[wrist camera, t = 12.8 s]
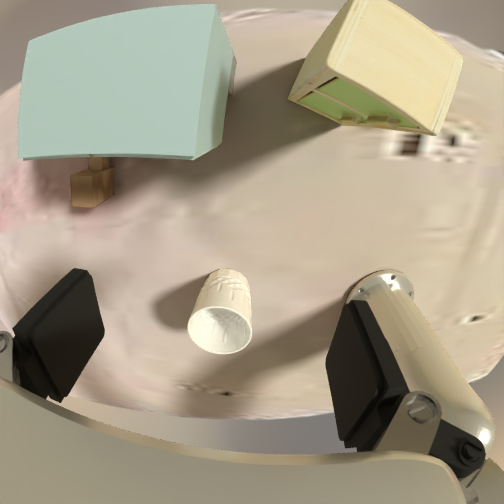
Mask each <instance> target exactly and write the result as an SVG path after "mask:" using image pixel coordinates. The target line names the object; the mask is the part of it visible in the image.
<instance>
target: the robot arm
mask: <svg viewBox="0 0 504 504" xmlns="http://www.w3.org/2000/svg"><path fill="white" fill-rule="evenodd" d="M413 299H414V289H413V285H412V283H411V282H410V280H409V279H408V278H407V277H406V276H405V275H404V274H403V273H401V272H398V271H394V270H383V271H379V272H376V273H373V274H371V275H369V276H367V277H366V278H364V279H363V280H361V281H360V282H359V283H358V284H357V285H356V286H355V287H354V288H353V289H352V291H351V292H350V294H349V296H348V298H347V300H346V303H345V305H344V307H343V310H342V313H341V316H340V319H339V322H338V325H337V328H336V331H335V334H334V337H333V340H332V343H331V346H330V348H329V351H328V354H327V357H326V370H327V375H328V380H329V386H330V391H331V396H332V401H333V407H334V412H335V418H336V424H337V429H338V435H339V439H340V440H341V441H344V445H345V448H353V447H356V448H357V452H353V453H337V454H315V455H278V454H256V453H242V452H232V451H223V450H215V449H208V448H202V447H196V446H190V445H184V444H179V443H174V442H169V441H164V440H160V439H156V438H152V437H148V436H144V435H140V434H136V433H133V432H130V431H126V430H123V429H120V428H117V427H113V426H110V425H107V424H104V423H102V422H98V421H96V420H93V419H90V418H88V417H85V416H82V415H80V414H77V413H75V412H73V411H70V410H68V409H65V408H63V407H61V406H59V405H56V404H54V403H52V402H50V401H48V400H46V398H47V396H48V395H49V397H50V398H51V399H53V400H55V401H57V402H59V403H61V402H62V400H63V398H64V397H66V396H68V394H69V393H70V391H71V389H72V388H73V386H74V384H75V382H76V381H77V379H78V377H79V376H80V374H81V372H82V371H83V369H84V367H85V366H86V364H87V362H88V361H89V359H90V358H91V356H92V354H93V353H94V351H95V350H96V348H97V347H98V345H99V343H100V342H101V340H102V339H103V337H104V333H105V329H104V325H103V322H102V318H101V314H100V310H99V306H98V302H97V297H96V293H95V288H94V284H93V279H92V276H91V275H90V274H89V272H88V271H87V270H82V269H76V268H74V269H72V270H71V271H70V272H69V273H68V274H67V275H66V276H65V277H63V278H62V279H61V280H60V281H59V282H58V283H57V284H56V285H55V286H54V287H53V288H52V289H51V290H50V291H49V292H48V293H47V294H45V295H44V296H43V297H42V298H41V299H40V300H39V301H38V302H37V303H36V304H35V305H34V306H33V307H32V308H31V309H30V310H29V311H28V313H27V314H26V315H25V316H24V317H23V318H22V319H21V320H20V321H19V322H18V323H17V324H16V325H15V326H14V327H13V328H12V329H13V331H14V334H15V337H14V338H13V337H12V336H11V334H10V333H8V332H6V331H0V504H504V471H503V470H502V469H501V468H500V467H499V466H498V465H497V464H496V463H495V462H493V461H492V460H491V459H490V458H488V459H487V460H486V459H485V455H486V452H487V451H488V450H489V448H490V447H491V445H492V443H493V441H494V438H495V432H496V427H495V422H494V419H493V417H492V414H491V413H490V411H489V410H488V408H487V407H486V405H485V404H484V403H483V402H482V400H481V399H480V398H479V397H478V395H477V394H476V393H475V392H474V390H473V389H472V388H471V386H470V385H469V384H468V382H467V381H466V380H465V378H464V377H463V376H462V374H461V373H460V371H459V369H458V368H457V366H456V365H455V363H454V362H453V360H452V359H451V357H450V355H449V354H448V352H447V351H446V349H445V348H444V346H443V344H442V343H441V341H440V340H439V338H438V337H437V335H436V333H435V332H434V330H433V329H432V327H431V326H430V324H429V323H428V321H427V320H426V319H425V317H424V316H423V314H422V313H421V311H420V310H419V308H418V307H417V306H416V304H415V303H414V301H413Z"/></svg>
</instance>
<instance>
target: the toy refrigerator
mask: <svg viewBox="0 0 504 504" xmlns="http://www.w3.org/2000/svg"><path fill="white" fill-rule="evenodd" d="M462 64H463V58H462V56H461V55H460V54H459V53H458V51H457V50H456V49H455V48H453V47H452V46H451V45H450V44H449V43H448V42H447V41H445V40H444V39H443V38H442V37H441V36H439V35H438V34H437V33H435V32H434V31H433V30H431V29H430V28H429V27H427V26H426V25H425V24H423V23H422V22H421V21H419V20H418V19H416V18H415V17H413V16H412V15H410V14H409V13H407V12H406V11H404V10H403V9H401V8H400V7H398V6H396V5H395V4H393V3H392V2H390V1H388V0H348V1H347V2H346V3H345V4H344V6H343V7H342V8H341V10H340V11H339V12H338V14H337V15H336V16H335V18H334V19H333V20H332V22H331V23H330V24H329V26H328V27H327V28H326V30H325V31H324V32H323V34H322V35H321V37H320V38H319V39H318V41H317V42H316V44H315V45H314V46H313V48H312V49H311V51H310V52H309V54H308V55H307V57H306V59H305V61H304V63H303V65H302V67H301V69H300V72H299V74H298V76H297V78H296V80H295V82H294V85H293V87H292V89H291V91H290V94H289V96H288V98H287V99H288V100H290V101H292V102H294V103H297V104H299V105H301V106H303V107H306V108H308V109H310V110H312V111H314V112H316V113H319V114H321V115H323V116H325V117H327V118H329V119H331V120H333V121H335V122H337V123H339V124H341V125H343V126H359V127H372V128H381V129H390V130H397V131H405V132H413V133H419V134H425V135H431V136H436V135H437V134H438V133H439V131H440V129H441V127H442V124H443V122H444V119H445V116H446V114H447V111H448V108H449V105H450V102H451V99H452V97H453V94H454V91H455V88H456V85H457V81H458V78H459V75H460V71H461V68H462Z"/></svg>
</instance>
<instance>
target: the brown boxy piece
mask: <svg viewBox="0 0 504 504" xmlns="http://www.w3.org/2000/svg"><path fill="white" fill-rule="evenodd" d="M70 178H71V197H72V206H77V207H91V208H93V207H95V206H97V205H98V204H100V203H102V202H103V201H105V200H106V199H108V198H110V197H112V196H113V195H114V167H110V157H93V156H91V157H88V169H87V170H84V171H82V172H79V173H77V174H74V175H71V176H70Z"/></svg>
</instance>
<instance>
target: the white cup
mask: <svg viewBox="0 0 504 504" xmlns="http://www.w3.org/2000/svg"><path fill="white" fill-rule="evenodd" d="M187 330H188V334H189V336H190V338H191V339H192V341H193V342H194V343H195V344H196V345H197V346H199V347H200V348H202V349H203V350H206V351H208V352H211V353H215V354H231V353H235V352H238V351H240V350H242V349H243V348H245V347H246V346H247V345H248V344H249V342H250V340H251V337H252V316H251V299H250V288H249V285H248V282H247V279H246V278H245V277H244V276H243V275H242V274H241V273H239V272H237V271H234V270H231V269H219V270H217V271H215V272H213V273H211V274H210V275H209V276H208V278H207V279H206V281H205V283H204V285H203V287H202V289H201V291H200V294H199V296H198V298H197V300H196V303H195V306H194V308H193V311H192V313H191V316H190V318H189V321H188V325H187Z"/></svg>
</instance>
